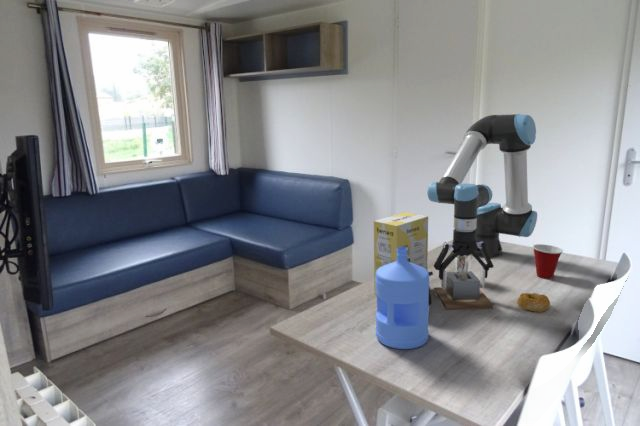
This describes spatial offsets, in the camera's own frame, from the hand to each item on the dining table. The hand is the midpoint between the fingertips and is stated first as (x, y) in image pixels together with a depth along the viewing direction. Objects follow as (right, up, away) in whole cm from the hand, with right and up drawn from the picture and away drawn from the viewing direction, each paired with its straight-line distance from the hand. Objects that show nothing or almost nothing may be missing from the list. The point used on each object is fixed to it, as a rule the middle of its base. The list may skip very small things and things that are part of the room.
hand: (462, 287), depth 157 cm
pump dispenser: (-18, -7, -7) cm, 20 cm away
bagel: (+22, -6, -6) cm, 24 cm away
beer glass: (+6, 0, +20) cm, 21 cm away
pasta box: (-20, -3, +11) cm, 23 cm away
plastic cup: (+39, +1, +19) cm, 44 cm away
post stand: (0, -5, +1) cm, 5 cm away
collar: (0, -3, +1) cm, 3 cm away
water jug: (-26, -11, -23) cm, 36 cm away
